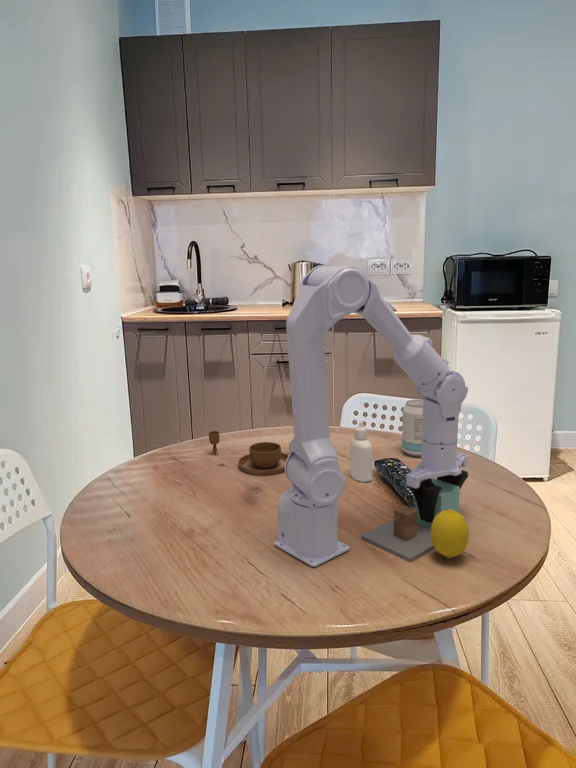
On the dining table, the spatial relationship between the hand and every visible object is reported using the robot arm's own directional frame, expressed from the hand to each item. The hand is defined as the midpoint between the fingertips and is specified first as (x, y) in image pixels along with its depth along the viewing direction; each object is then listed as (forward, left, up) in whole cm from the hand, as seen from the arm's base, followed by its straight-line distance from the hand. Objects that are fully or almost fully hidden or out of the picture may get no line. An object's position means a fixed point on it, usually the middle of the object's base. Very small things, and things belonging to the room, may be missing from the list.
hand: (436, 515), depth 99 cm
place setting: (-46, -4, -2) cm, 46 cm away
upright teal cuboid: (0, 0, -1) cm, 1 cm away
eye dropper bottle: (-22, +6, -2) cm, 23 cm away
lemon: (+8, -8, -2) cm, 12 cm away
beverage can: (-23, +26, -2) cm, 35 cm away
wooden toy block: (0, -8, -1) cm, 9 cm away
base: (0, -8, -1) cm, 9 cm away
